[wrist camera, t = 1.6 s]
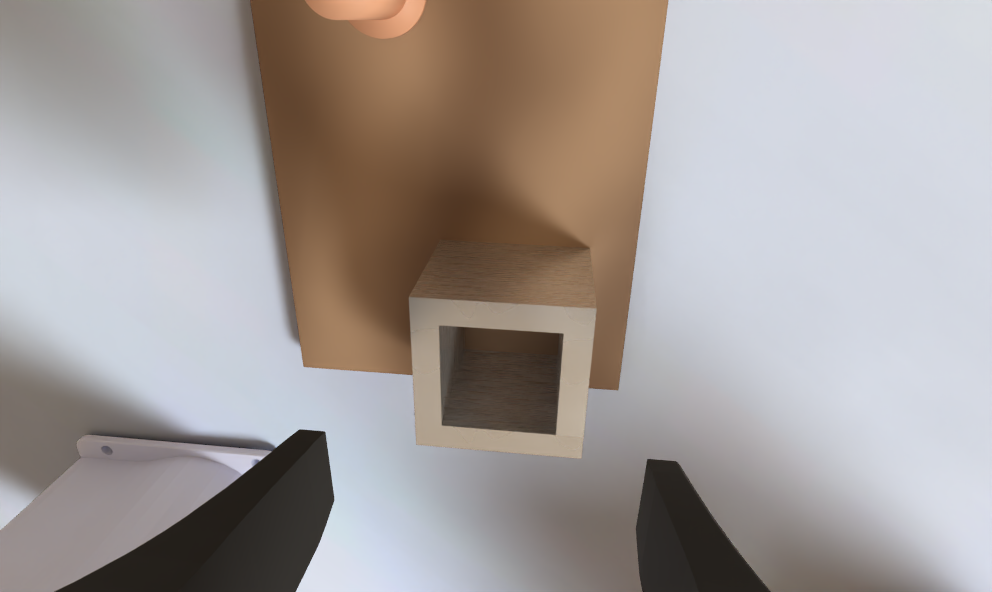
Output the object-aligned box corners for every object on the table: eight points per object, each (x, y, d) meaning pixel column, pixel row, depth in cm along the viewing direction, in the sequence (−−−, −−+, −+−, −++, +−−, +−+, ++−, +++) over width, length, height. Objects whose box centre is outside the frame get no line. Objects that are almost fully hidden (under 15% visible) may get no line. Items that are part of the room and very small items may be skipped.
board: (313, 353, 24) (303, 366, 23) (235, -221, 16) (215, -236, 15) (616, 375, 22) (618, 390, 22) (691, -230, 15) (699, -245, 14)
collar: (443, 365, 22) (416, 444, 18) (440, 240, 20) (408, 297, 16) (578, 375, 21) (581, 458, 17) (589, 248, 19) (596, 309, 15)
